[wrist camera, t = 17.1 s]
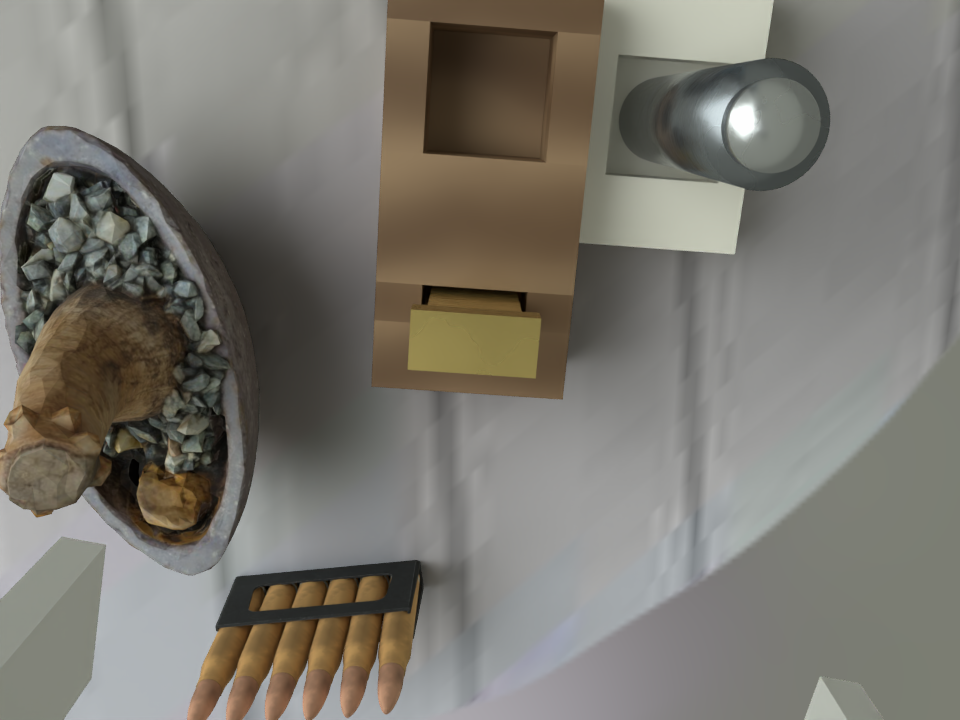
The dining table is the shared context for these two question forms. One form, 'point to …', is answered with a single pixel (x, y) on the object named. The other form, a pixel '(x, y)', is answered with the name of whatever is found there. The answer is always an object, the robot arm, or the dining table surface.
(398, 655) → the ammunition clip
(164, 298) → the planter
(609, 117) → the block
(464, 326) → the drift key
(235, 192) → the dining table surface
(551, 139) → the socket block
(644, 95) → the grey metal cylinder
